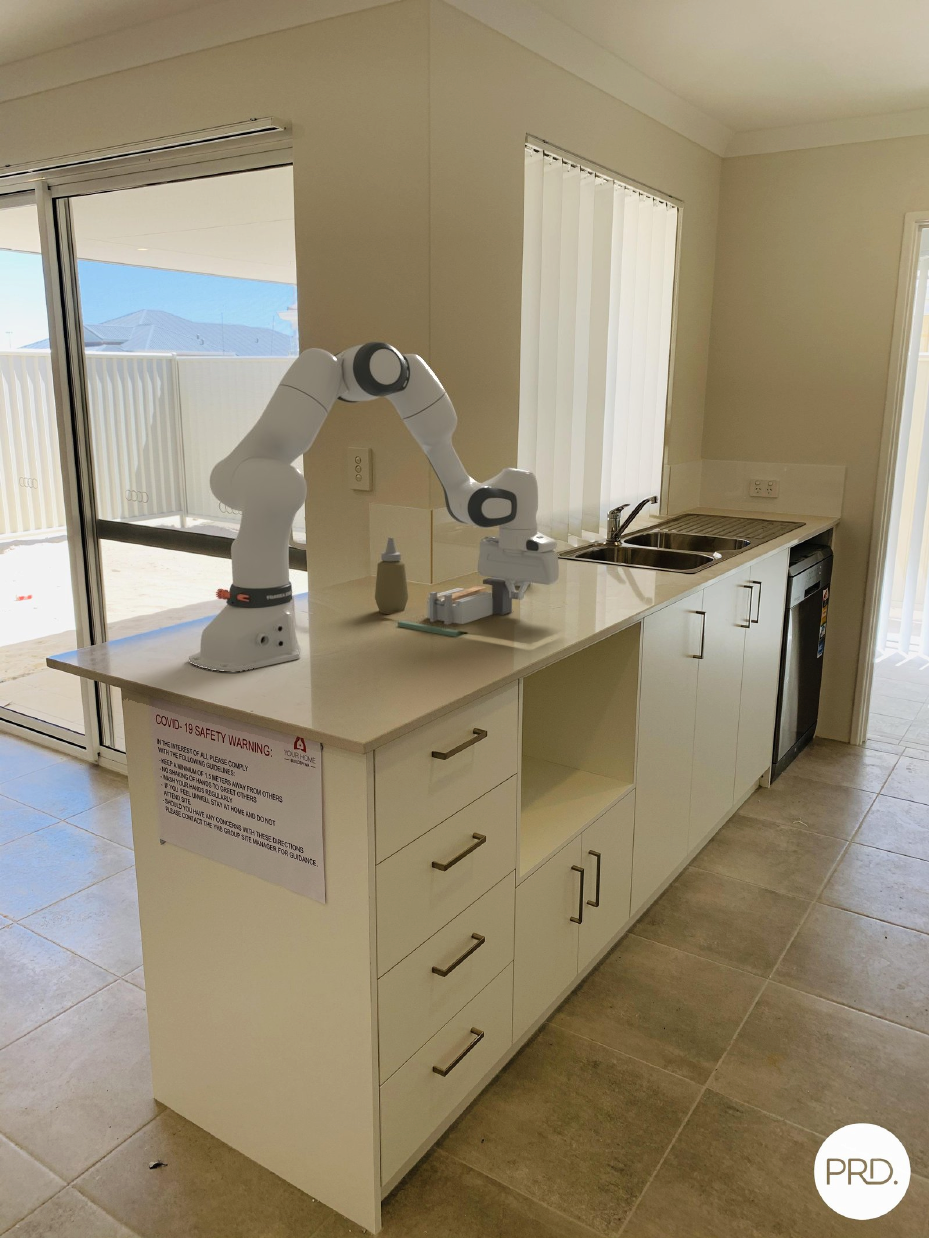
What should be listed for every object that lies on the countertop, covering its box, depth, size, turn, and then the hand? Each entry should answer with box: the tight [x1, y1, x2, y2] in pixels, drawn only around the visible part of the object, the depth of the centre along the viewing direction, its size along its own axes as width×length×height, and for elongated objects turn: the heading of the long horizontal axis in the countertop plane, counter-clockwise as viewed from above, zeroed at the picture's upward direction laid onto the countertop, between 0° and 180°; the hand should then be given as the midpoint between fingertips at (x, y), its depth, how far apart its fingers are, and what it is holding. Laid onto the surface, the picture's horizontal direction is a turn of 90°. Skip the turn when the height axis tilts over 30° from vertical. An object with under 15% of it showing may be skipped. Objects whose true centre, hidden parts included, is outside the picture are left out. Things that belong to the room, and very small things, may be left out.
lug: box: [482, 577, 513, 616], centre depth 221 cm, size 4×6×8 cm
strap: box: [435, 585, 487, 606], centre depth 217 cm, size 17×3×1 cm, turn 145°
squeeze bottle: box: [374, 537, 409, 615], centre depth 224 cm, size 8×8×18 cm
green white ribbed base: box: [397, 587, 508, 638], centre depth 217 cm, size 26×16×8 cm, turn 145°
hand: (516, 598), depth 218 cm, fingers closed
